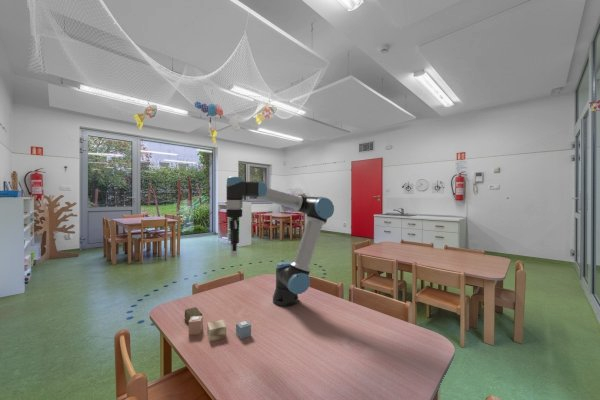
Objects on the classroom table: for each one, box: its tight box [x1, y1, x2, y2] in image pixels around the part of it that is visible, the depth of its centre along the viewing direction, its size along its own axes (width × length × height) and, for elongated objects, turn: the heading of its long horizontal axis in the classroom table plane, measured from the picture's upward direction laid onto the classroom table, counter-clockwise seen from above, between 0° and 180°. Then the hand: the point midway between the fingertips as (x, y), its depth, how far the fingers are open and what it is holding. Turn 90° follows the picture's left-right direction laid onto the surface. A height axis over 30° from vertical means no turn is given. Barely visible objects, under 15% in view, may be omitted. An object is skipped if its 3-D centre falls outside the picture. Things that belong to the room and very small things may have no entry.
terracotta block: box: [188, 315, 204, 336], centre depth 116 cm, size 5×5×6 cm
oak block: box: [206, 319, 227, 342], centre depth 113 cm, size 7×7×5 cm
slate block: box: [235, 319, 252, 340], centre depth 114 cm, size 5×5×5 cm
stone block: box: [184, 306, 203, 324], centre depth 125 cm, size 6×12×5 cm, turn 40°
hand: (233, 257), depth 123 cm, fingers closed
